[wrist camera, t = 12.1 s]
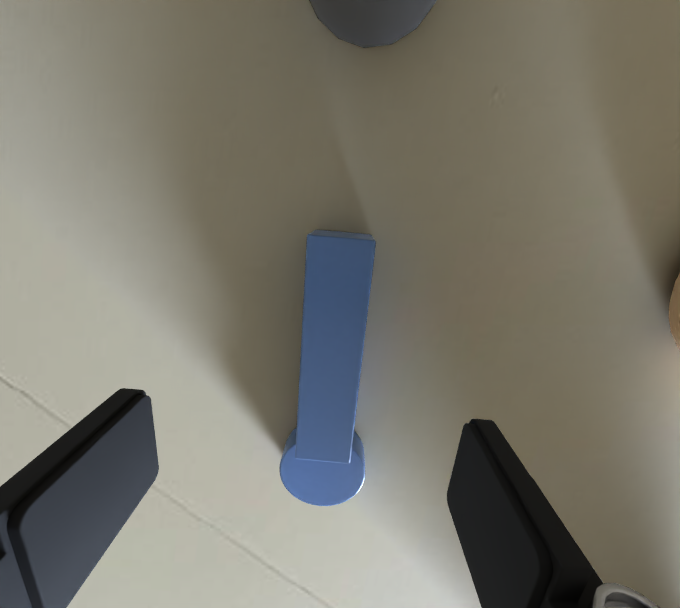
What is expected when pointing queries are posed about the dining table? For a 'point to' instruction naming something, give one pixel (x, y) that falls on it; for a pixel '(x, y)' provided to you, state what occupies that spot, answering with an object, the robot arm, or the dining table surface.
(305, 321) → the spoon
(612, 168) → the dining table surface
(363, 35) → the candle holder
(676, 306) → the donut
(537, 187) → the dining table surface
